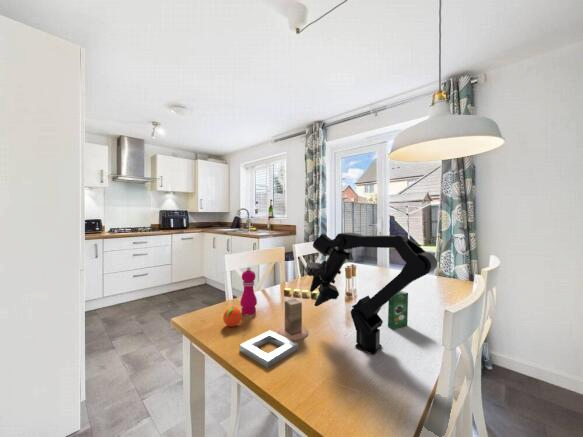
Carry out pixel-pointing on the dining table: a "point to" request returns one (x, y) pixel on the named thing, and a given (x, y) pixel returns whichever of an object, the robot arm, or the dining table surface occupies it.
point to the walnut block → (293, 316)
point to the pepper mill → (248, 293)
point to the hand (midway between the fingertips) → (313, 298)
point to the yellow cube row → (297, 292)
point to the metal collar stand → (273, 357)
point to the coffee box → (398, 311)
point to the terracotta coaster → (293, 337)
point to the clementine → (232, 316)
